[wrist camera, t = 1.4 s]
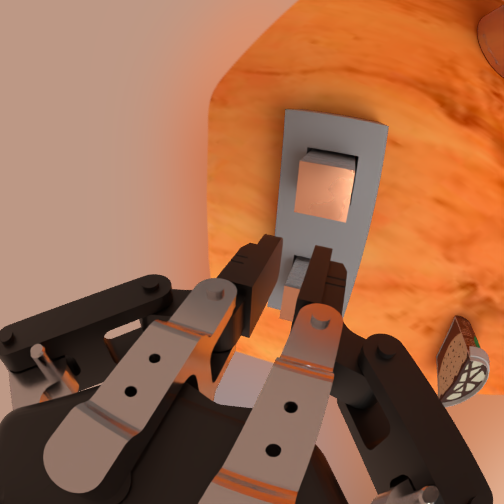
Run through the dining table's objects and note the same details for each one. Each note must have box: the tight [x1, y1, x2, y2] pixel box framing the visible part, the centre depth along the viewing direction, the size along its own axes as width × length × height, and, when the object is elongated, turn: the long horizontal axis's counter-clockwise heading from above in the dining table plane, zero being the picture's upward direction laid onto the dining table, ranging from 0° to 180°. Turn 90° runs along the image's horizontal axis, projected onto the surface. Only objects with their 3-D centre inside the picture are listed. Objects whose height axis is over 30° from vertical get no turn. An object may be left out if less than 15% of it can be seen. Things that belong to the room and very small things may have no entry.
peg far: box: [280, 256, 311, 322], centre depth 28 cm, size 4×4×8 cm
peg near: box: [294, 148, 355, 223], centre depth 23 cm, size 4×4×8 cm
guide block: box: [267, 109, 389, 318], centre depth 30 cm, size 22×9×8 cm, turn 177°
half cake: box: [436, 316, 489, 407], centre depth 30 cm, size 12×6×10 cm, turn 5°
